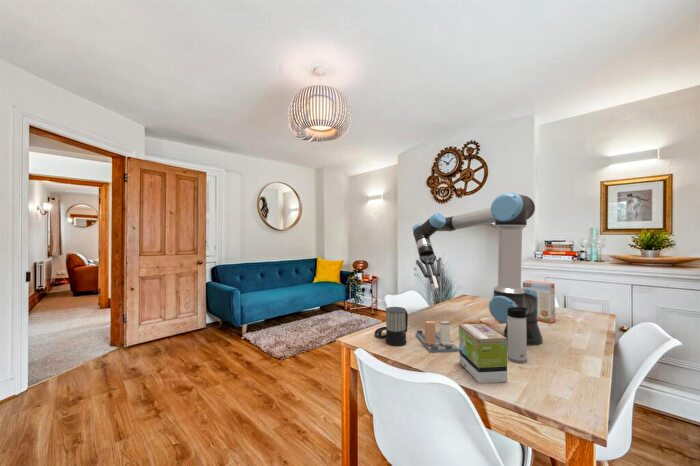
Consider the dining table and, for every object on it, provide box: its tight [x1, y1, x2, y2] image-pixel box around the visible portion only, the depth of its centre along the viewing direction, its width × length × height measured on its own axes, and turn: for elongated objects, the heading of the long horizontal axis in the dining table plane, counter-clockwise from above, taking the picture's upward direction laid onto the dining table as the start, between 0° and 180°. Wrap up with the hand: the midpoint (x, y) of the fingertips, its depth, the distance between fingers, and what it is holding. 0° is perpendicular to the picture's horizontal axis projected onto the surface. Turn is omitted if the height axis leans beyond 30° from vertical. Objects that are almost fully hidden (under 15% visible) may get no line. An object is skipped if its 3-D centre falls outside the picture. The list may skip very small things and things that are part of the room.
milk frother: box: [374, 306, 409, 347], centre depth 133 cm, size 14×16×15 cm
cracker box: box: [522, 280, 556, 324], centre depth 161 cm, size 14×6×21 cm, turn 35°
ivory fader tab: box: [438, 320, 451, 345], centre depth 123 cm, size 3×4×9 cm
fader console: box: [415, 320, 459, 354], centre depth 128 cm, size 20×12×11 cm, turn 4°
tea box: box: [458, 323, 508, 384], centre depth 101 cm, size 15×10×15 cm
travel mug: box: [507, 307, 528, 364], centre depth 111 cm, size 6×7×20 cm
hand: (436, 288), depth 138 cm, fingers closed
